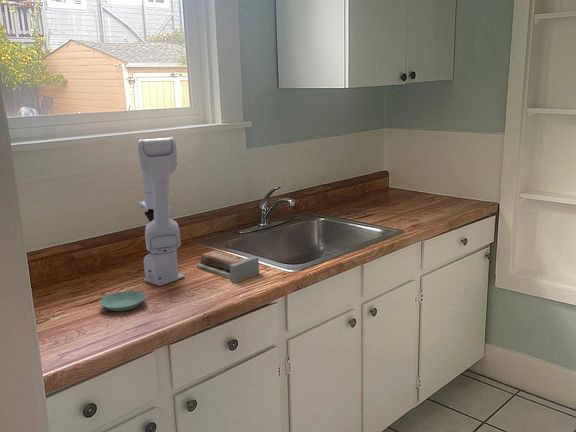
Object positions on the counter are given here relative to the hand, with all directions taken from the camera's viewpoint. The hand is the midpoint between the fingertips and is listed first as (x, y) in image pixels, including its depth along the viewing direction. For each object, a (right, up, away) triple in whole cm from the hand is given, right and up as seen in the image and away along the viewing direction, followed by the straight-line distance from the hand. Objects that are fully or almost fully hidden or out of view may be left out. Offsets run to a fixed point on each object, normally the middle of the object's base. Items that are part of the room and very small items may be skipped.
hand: (157, 232), depth 188 cm
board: (+29, -13, -14) cm, 35 cm away
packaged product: (+23, -12, -6) cm, 26 cm away
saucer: (-2, -19, -32) cm, 37 cm away
